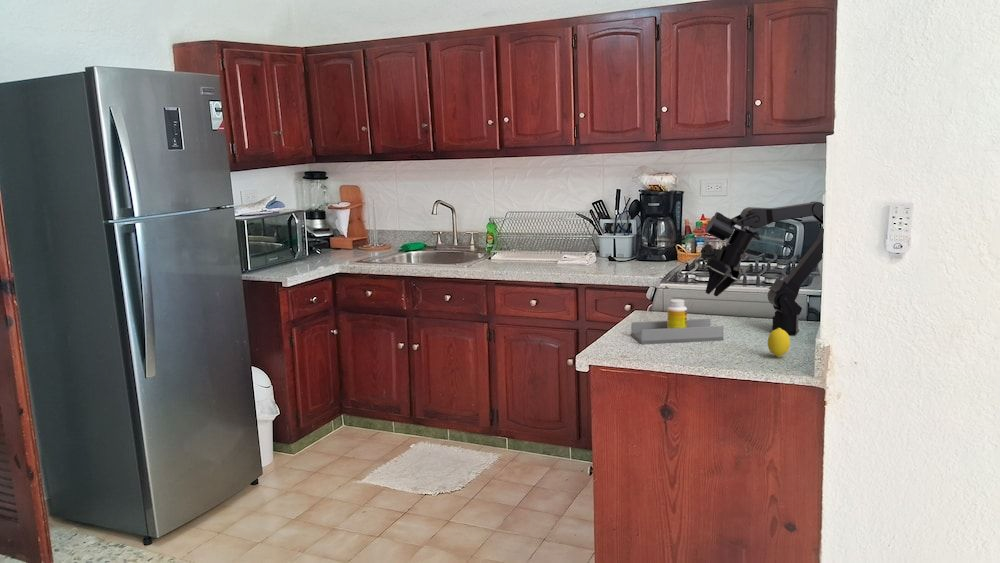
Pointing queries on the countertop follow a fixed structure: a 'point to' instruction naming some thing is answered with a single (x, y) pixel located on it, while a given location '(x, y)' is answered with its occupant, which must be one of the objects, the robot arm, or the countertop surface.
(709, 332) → the cable duct
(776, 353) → the lemon
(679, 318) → the supplement bottle
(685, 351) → the countertop surface
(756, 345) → the countertop surface
